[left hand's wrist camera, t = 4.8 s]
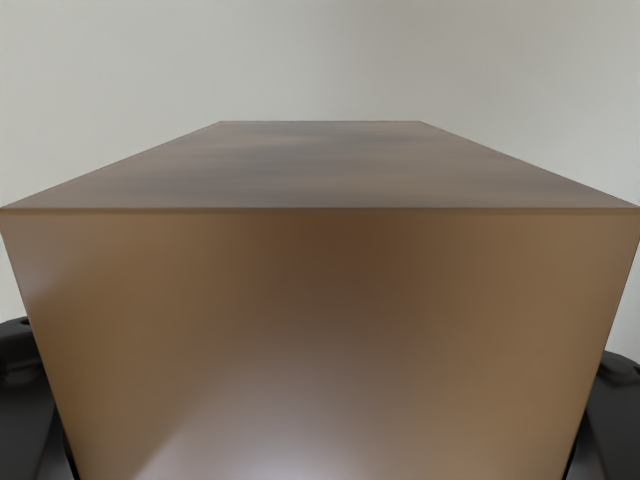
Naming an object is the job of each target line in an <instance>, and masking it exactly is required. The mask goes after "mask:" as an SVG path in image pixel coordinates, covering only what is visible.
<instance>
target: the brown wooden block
mask: <svg viewBox="0 0 640 480" xmlns="http://www.w3.org/2000/svg"><path fill="white" fill-rule="evenodd" d="M0 232H1V235H2V238H3V241H4V244H5V247H6V251H7V254H8V257H9V260H10V263H11V266H12V269H13V272H14V275H15V278H16V282H17V285H18V288H19V291H20V294H21V297H22V300H23V303H24V306H25V310H26V313H27V316H28V319H29V322H30V325H31V328H32V331H33V334H34V338H35V341H36V344H37V347H38V350H39V353H40V356H41V359H42V362H43V366H44V369H45V372H46V375H47V378H48V381H49V384H50V387H51V390H52V393H53V397H54V400H55V403H56V406H57V409H58V412H59V415H60V418H61V421H62V425H63V428H64V431H65V434H66V437H67V440H68V443H69V446H70V449H71V453H72V456H73V459H74V462H75V465H76V468H77V471H78V474H79V477H80V480H562V478H563V475H564V472H565V469H566V466H567V463H568V460H569V457H570V454H571V451H572V447H573V444H574V441H575V438H576V435H577V432H578V429H579V426H580V423H581V420H582V417H583V414H584V410H585V407H586V404H587V401H588V398H589V395H590V392H591V389H592V386H593V383H594V380H595V377H596V374H597V370H598V367H599V364H600V361H601V358H602V355H603V352H604V349H605V346H606V343H607V340H608V337H609V334H610V330H611V327H612V324H613V321H614V318H615V315H616V312H617V309H618V306H619V303H620V300H621V297H622V293H623V290H624V287H625V284H626V281H627V278H628V275H629V272H630V269H631V266H632V263H633V260H634V257H635V253H636V250H637V247H638V244H639V241H640V206H637V205H635V204H632V203H629V202H627V201H624V200H622V199H619V198H617V197H614V196H611V195H609V194H606V193H604V192H601V191H599V190H596V189H593V188H591V187H588V186H586V185H583V184H581V183H578V182H575V181H573V180H570V179H568V178H565V177H563V176H560V175H557V174H555V173H552V172H550V171H547V170H545V169H542V168H539V167H537V166H534V165H532V164H529V163H527V162H524V161H521V160H519V159H516V158H514V157H511V156H509V155H506V154H503V153H501V152H498V151H496V150H493V149H491V148H488V147H485V146H483V145H480V144H478V143H475V142H473V141H470V140H467V139H465V138H462V137H460V136H457V135H455V134H452V133H449V132H447V131H444V130H442V129H439V128H437V127H434V126H431V125H429V124H426V123H424V122H421V121H220V122H217V123H215V124H212V125H210V126H207V127H205V128H202V129H199V130H197V131H194V132H192V133H189V134H187V135H184V136H182V137H179V138H177V139H174V140H171V141H169V142H166V143H164V144H161V145H159V146H156V147H154V148H151V149H149V150H146V151H143V152H141V153H138V154H136V155H133V156H131V157H128V158H126V159H123V160H121V161H118V162H115V163H113V164H110V165H108V166H105V167H103V168H100V169H98V170H95V171H93V172H90V173H87V174H85V175H82V176H80V177H77V178H75V179H72V180H70V181H67V182H65V183H62V184H59V185H57V186H54V187H52V188H49V189H47V190H44V191H42V192H39V193H36V194H34V195H31V196H29V197H26V198H24V199H21V200H19V201H16V202H14V203H11V204H8V205H6V206H3V207H1V208H0Z"/></svg>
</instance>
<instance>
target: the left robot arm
mask: <svg viewBox="0 0 640 480" xmlns="http://www.w3.org/2000/svg"><path fill="white" fill-rule="evenodd" d="M0 480H80V477H79V474H78V471H77V468H76V465H75V462H74V459H73V456H72V453H71V449H70V446H69V443H68V440H67V437H66V434H65V431H64V428H63V425H62V421H61V418H60V415H59V412H58V409H57V406H56V403H55V400H54V397H53V393H52V390H51V387H50V384H49V381H48V378H47V375H46V372H45V369H44V366H43V362H42V359H41V356H40V353H39V350H38V347H37V344H36V341H35V338H34V334H33V331H32V328H31V325H30V322H29V319H28V316H26V317H21V318H17V319H13V320H9V321H6V322H4V323H1V324H0ZM562 480H640V365H639V364H637V363H636V362H634V361H632V360H630V359H628V358H626V357H624V356H621V355H619V354H615V353H612V352H608V351H605V350H604V352H603V355H602V358H601V361H600V364H599V367H598V370H597V374H596V377H595V380H594V383H593V386H592V389H591V392H590V395H589V398H588V401H587V404H586V407H585V410H584V414H583V417H582V420H581V423H580V426H579V429H578V432H577V435H576V438H575V441H574V444H573V447H572V451H571V454H570V457H569V460H568V463H567V466H566V469H565V472H564V475H563V478H562Z"/></svg>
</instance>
